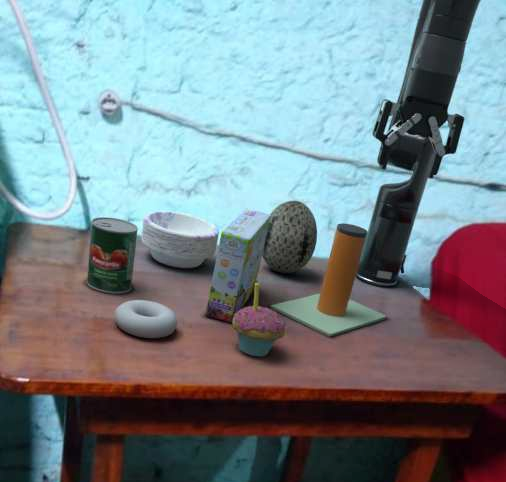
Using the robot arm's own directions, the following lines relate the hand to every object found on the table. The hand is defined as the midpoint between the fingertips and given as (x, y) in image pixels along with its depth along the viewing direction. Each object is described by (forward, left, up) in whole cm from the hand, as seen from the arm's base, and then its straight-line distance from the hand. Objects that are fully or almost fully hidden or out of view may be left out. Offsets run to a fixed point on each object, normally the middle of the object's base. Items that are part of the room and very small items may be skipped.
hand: (405, 172), depth 127 cm
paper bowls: (+11, -39, -28) cm, 50 cm away
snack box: (+17, -18, -28) cm, 38 cm away
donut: (+41, -16, -28) cm, 52 cm away
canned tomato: (+34, -33, -28) cm, 55 cm away
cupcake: (+30, -2, -28) cm, 41 cm away
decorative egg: (-8, -26, -28) cm, 39 cm away
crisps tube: (+2, -6, -27) cm, 28 cm away
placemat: (+2, -6, -28) cm, 29 cm away
